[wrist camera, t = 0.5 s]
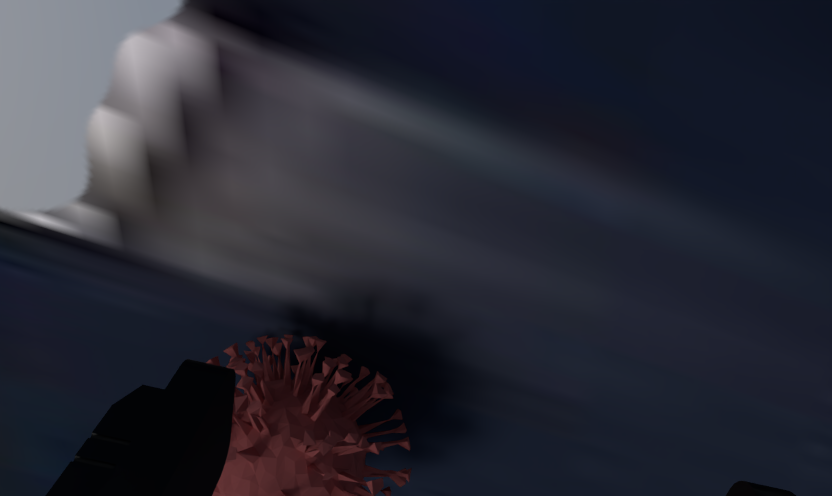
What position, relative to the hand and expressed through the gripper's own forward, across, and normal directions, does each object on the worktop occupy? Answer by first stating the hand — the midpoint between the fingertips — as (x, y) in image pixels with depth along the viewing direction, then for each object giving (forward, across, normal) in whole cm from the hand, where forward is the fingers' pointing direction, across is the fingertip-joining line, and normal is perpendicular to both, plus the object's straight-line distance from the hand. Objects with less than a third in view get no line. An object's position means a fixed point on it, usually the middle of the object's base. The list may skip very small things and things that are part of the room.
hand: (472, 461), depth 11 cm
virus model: (+28, +6, +23) cm, 37 cm away
